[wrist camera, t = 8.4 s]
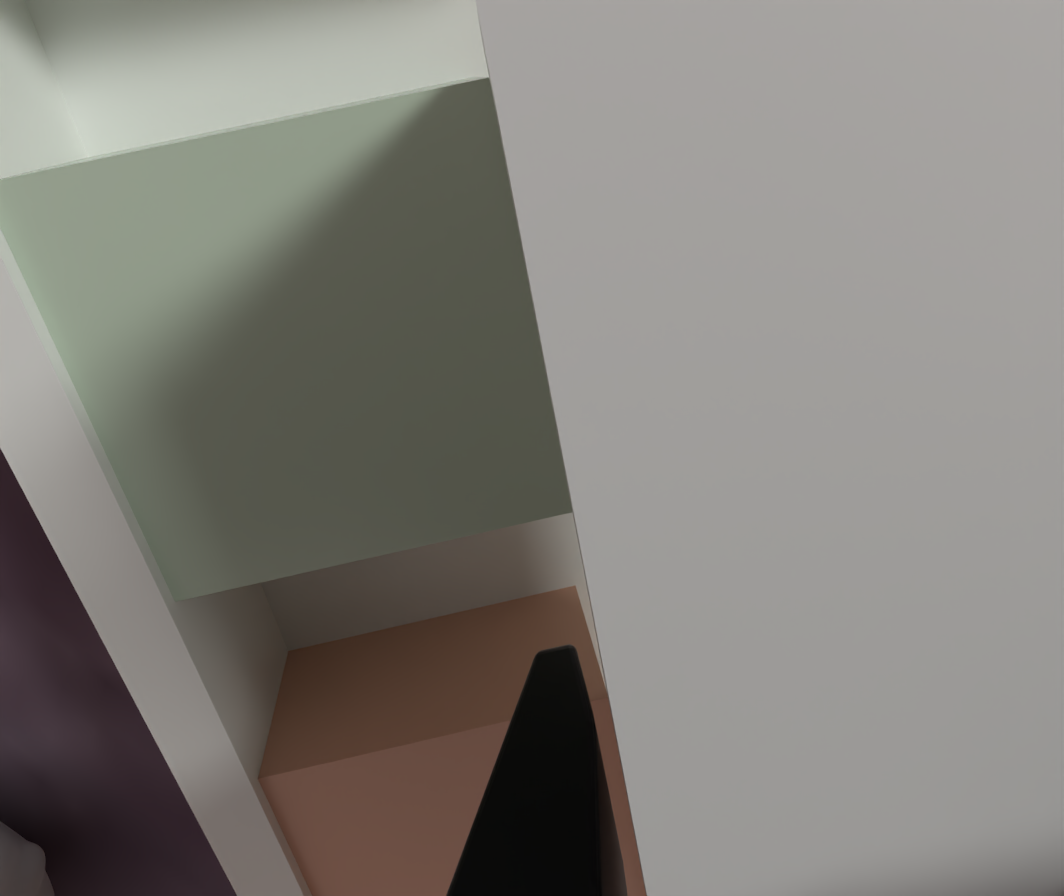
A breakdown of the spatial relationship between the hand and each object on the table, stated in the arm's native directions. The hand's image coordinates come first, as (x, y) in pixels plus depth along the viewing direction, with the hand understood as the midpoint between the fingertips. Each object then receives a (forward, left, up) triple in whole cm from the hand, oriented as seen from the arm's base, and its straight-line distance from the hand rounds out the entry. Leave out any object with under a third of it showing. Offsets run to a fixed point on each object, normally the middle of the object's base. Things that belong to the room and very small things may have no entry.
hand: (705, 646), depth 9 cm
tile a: (-4, +3, -4) cm, 6 cm away
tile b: (+4, +3, -4) cm, 6 cm away
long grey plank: (0, 0, -1) cm, 1 cm away
